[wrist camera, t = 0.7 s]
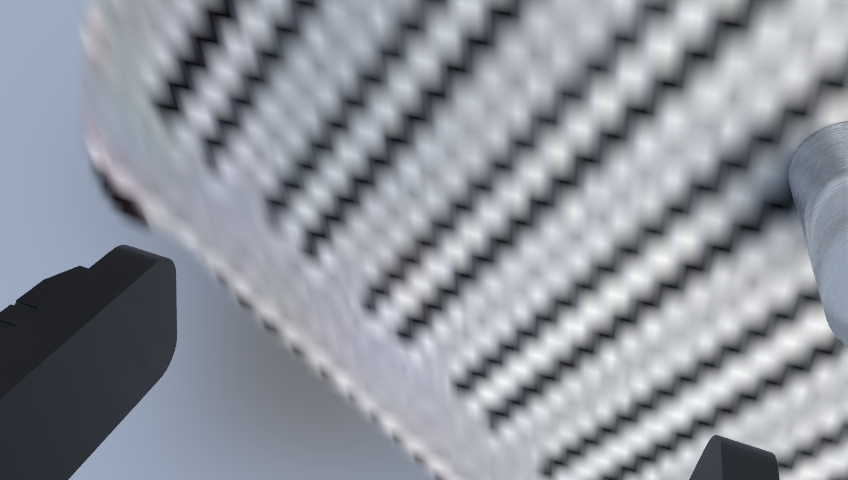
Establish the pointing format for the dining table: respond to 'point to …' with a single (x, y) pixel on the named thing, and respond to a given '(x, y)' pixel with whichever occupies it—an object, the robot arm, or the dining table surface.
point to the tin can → (825, 216)
